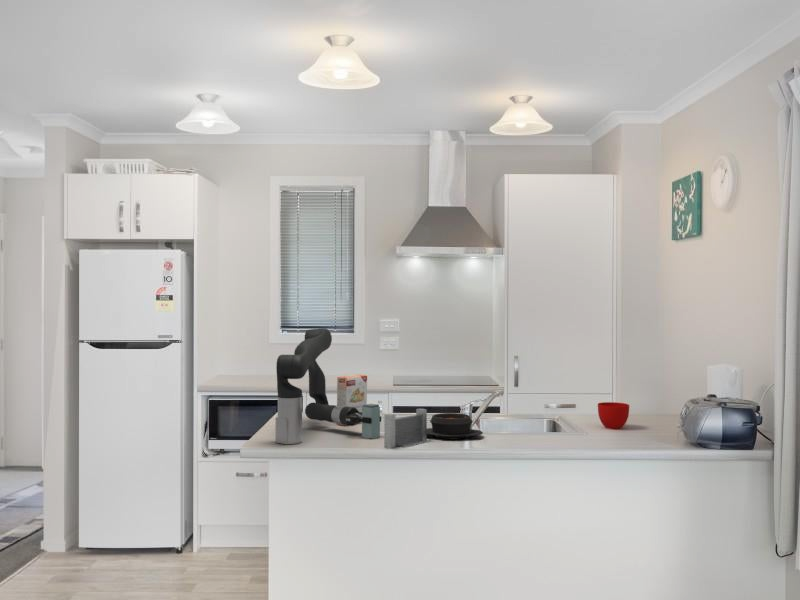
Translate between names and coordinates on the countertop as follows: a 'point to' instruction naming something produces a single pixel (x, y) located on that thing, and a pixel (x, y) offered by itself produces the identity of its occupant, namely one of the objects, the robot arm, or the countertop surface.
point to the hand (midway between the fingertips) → (375, 420)
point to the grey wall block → (405, 429)
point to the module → (374, 427)
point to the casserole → (452, 426)
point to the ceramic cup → (613, 414)
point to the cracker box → (352, 391)
